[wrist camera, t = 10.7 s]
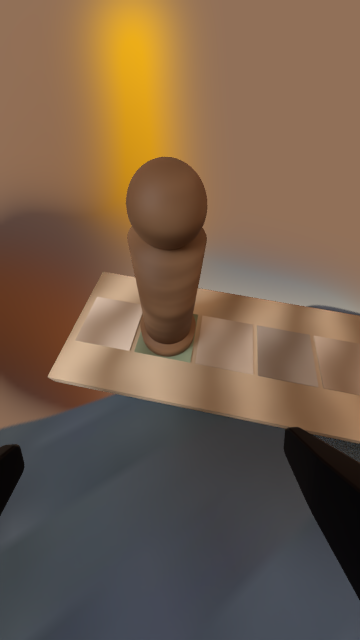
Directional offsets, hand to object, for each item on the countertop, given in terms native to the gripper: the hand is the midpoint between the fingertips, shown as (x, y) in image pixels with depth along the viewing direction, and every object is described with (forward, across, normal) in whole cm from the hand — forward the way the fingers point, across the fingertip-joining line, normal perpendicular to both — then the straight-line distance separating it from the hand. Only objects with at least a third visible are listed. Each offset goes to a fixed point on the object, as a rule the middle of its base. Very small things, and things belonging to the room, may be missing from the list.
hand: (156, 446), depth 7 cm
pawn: (+11, 0, -1) cm, 11 cm away
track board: (+11, -5, +1) cm, 12 cm away
